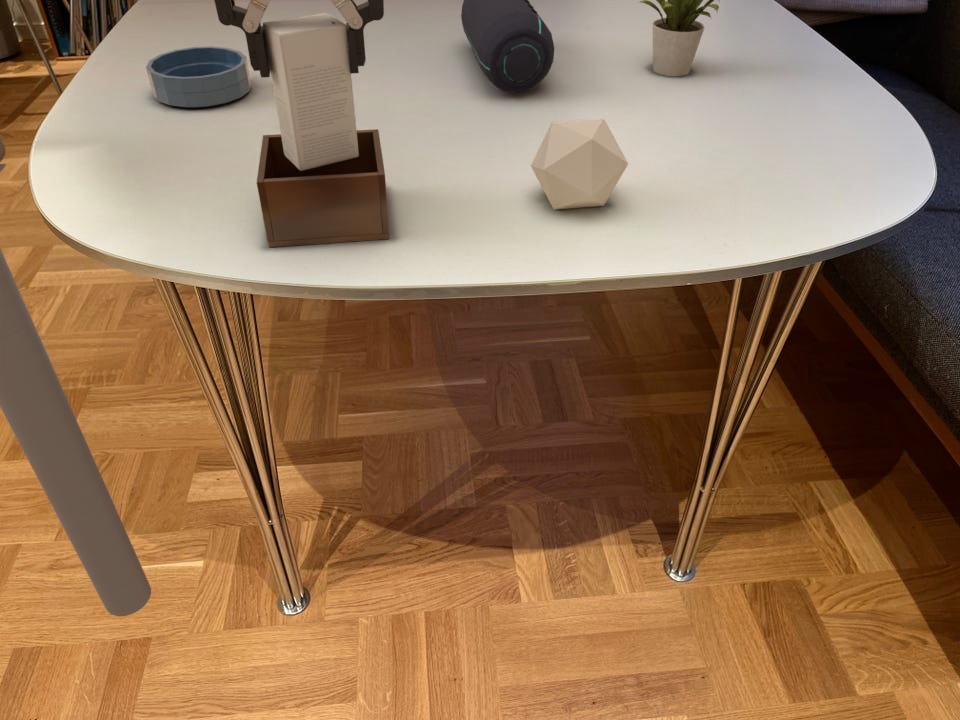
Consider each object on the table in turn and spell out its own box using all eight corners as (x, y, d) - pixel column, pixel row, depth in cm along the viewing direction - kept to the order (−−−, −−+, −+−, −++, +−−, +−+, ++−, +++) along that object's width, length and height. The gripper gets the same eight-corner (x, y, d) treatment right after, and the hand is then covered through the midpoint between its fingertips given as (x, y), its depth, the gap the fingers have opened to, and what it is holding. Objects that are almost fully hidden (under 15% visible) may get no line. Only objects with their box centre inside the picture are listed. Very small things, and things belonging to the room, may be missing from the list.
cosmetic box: (340, 142, 75) (327, 11, 67) (360, 158, 72) (348, 24, 64) (281, 155, 72) (260, 21, 64) (298, 173, 69) (279, 34, 62)
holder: (268, 247, 71) (256, 182, 67) (273, 196, 79) (262, 134, 75) (389, 239, 73) (385, 174, 68) (382, 189, 80) (378, 129, 76)
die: (606, 185, 83) (558, 105, 80) (658, 176, 75) (607, 87, 72) (552, 232, 81) (500, 153, 78) (599, 229, 73) (544, 140, 70)
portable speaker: (558, 100, 101) (564, 20, 94) (482, 103, 99) (484, 22, 93) (520, 40, 120) (524, -30, 113) (457, 43, 118) (457, -28, 112)
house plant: (749, 73, 110) (779, -55, 99) (696, 97, 102) (722, -39, 92) (666, 49, 117) (686, -72, 107) (610, 70, 110) (626, -58, 99)
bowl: (147, 112, 96) (138, 80, 93) (162, 78, 105) (155, 48, 102) (247, 107, 97) (242, 75, 95) (254, 74, 107) (248, 44, 104)
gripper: (376, -161, 60) (389, 55, 71) (187, -160, 58) (229, 61, 69) (382, -149, 54) (395, 84, 65) (172, -148, 53) (221, 92, 63)
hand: (310, 72), depth 67 cm, fingers closed on cosmetic box, 7 cm apart
